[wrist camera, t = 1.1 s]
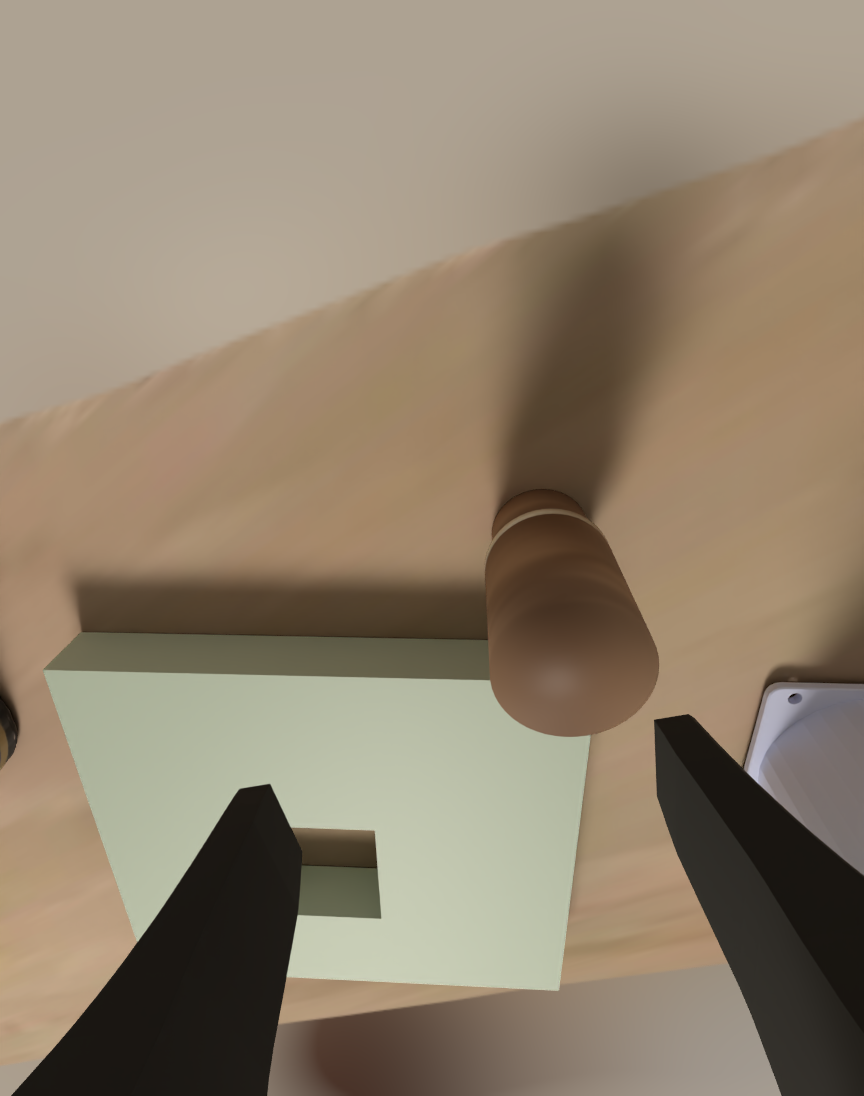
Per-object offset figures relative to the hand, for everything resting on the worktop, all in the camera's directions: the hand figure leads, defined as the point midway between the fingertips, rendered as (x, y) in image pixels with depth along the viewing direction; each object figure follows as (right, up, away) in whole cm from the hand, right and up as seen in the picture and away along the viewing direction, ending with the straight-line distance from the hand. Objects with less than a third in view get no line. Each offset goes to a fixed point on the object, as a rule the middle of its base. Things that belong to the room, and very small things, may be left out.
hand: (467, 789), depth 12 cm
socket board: (-5, -7, +17) cm, 19 cm away
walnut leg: (+3, +5, +10) cm, 12 cm away
